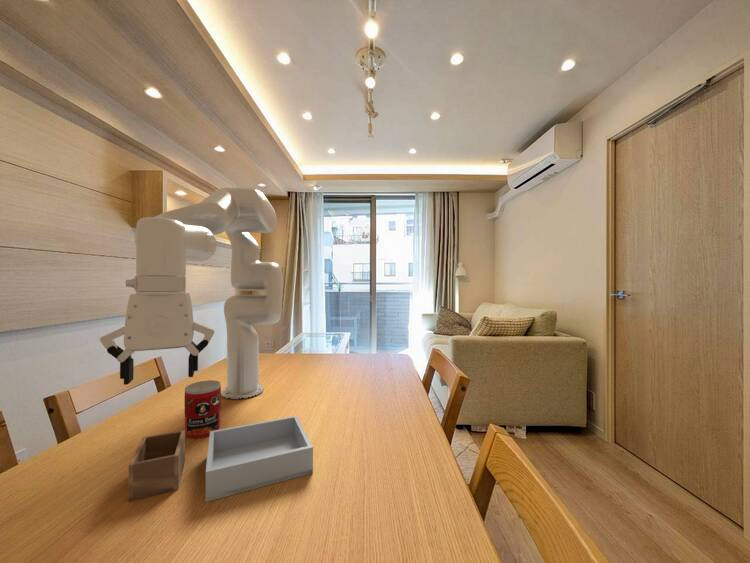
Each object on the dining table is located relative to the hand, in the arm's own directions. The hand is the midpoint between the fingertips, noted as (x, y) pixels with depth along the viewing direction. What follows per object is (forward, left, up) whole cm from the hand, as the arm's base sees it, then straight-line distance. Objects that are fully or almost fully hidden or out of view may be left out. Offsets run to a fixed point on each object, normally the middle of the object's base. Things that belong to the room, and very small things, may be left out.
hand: (161, 378), depth 57 cm
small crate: (0, 0, -19) cm, 19 cm away
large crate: (+3, +17, -19) cm, 25 cm away
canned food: (-17, +6, -19) cm, 26 cm away
